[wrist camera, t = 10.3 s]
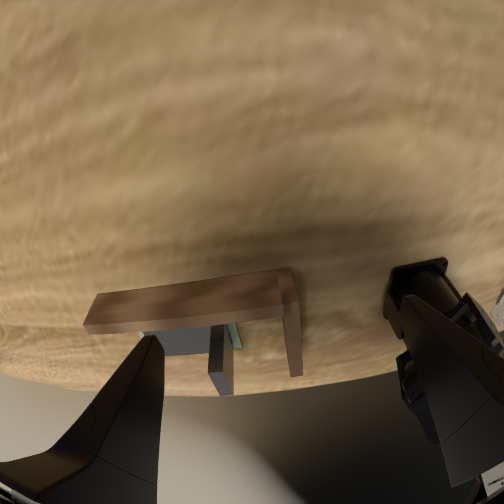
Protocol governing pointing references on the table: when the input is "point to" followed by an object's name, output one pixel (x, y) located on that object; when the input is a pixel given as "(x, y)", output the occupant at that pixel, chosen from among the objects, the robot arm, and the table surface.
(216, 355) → the angle bracket
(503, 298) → the graphics card
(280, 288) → the corner walls
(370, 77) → the table surface
